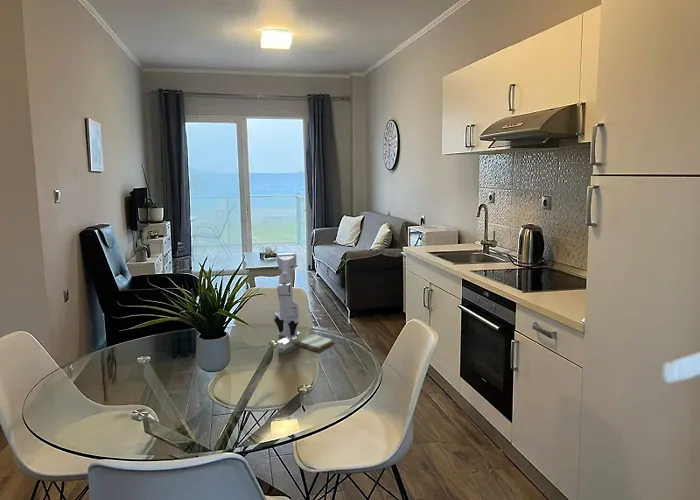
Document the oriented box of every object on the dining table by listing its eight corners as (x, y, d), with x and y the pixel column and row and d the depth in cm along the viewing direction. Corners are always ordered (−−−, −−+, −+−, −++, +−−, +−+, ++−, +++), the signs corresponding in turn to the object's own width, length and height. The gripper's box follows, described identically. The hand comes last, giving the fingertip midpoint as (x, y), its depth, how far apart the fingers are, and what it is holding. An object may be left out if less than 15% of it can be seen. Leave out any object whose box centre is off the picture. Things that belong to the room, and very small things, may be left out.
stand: (296, 345, 261) (296, 341, 261) (313, 336, 271) (312, 332, 271) (318, 352, 253) (317, 348, 253) (334, 342, 263) (334, 339, 263)
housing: (278, 352, 254) (277, 341, 252) (290, 346, 261) (290, 335, 259) (285, 355, 251) (284, 343, 250) (297, 348, 258) (296, 337, 257)
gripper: (268, 307, 251) (270, 332, 255) (291, 313, 243) (292, 339, 247) (278, 302, 257) (280, 328, 260) (300, 308, 249) (302, 334, 252)
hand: (287, 333), depth 254 cm, fingers open, 7 cm apart
